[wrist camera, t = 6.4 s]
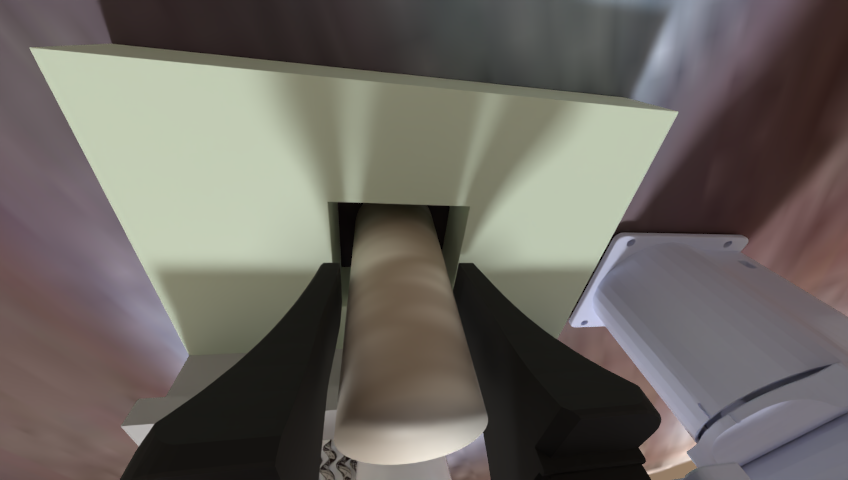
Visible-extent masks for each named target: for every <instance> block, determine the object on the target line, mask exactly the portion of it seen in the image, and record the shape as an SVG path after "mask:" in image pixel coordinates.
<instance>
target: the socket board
mask: <svg viewBox="0 0 848 480" xmlns="http://www.w3.org/2000/svg"><path fill="white" fill-rule="evenodd" d="M30 50H31V52H32V54H33V56H34V58H35V60H36V62H37V64H38V65H39V67H40V69H41V71H42V73H43V75H44V77H45V79H46V81H47V83H48V85H49V87H50V88H51V90H52V92H53V94H54V96H55V98H56V100H57V102H58V104H59V106H60V108H61V110H62V112H63V113H64V115H65V117H66V119H67V121H68V123H69V125H70V127H71V129H72V131H73V133H74V135H75V137H76V138H77V140H78V142H79V144H80V146H81V148H82V150H83V152H84V154H85V156H86V158H87V160H88V162H89V163H90V165H91V167H92V169H93V171H94V173H95V175H96V177H97V179H98V181H99V183H100V185H101V187H102V188H103V190H104V192H105V194H106V196H107V198H108V200H109V202H110V204H111V206H112V208H113V210H114V212H115V213H116V215H117V217H118V219H119V221H120V223H121V225H122V227H123V229H124V231H125V233H126V235H127V237H128V238H129V240H130V242H131V244H132V246H133V248H134V250H135V252H136V254H137V256H138V258H139V260H140V262H141V263H142V265H143V267H144V269H145V271H146V273H147V275H148V277H149V279H150V281H151V283H152V285H153V287H154V288H155V290H156V292H157V294H158V296H159V298H160V300H161V302H162V304H163V306H164V308H165V310H166V312H167V313H168V315H169V317H170V319H171V321H172V323H173V325H174V327H175V329H176V331H177V333H178V335H179V337H180V338H181V340H182V342H183V344H184V346H185V348H186V350H187V352H188V354H189V357H188V359H187V361H186V362H185V364H184V366H183V368H182V369H181V371H180V373H179V374H178V376H177V378H176V380H175V381H174V383H173V385H172V387H171V388H170V390H169V392H168V394H167V395H166V397H161V398H146V399H138V400H137V402H136V403H135V405H134V407H133V408H132V410H131V411H130V413H129V414H128V416H127V417H126V419H125V420H124V422H123V424H122V425H121V427H122V428H123V429H124V430H125V432H126V433H127V434H128V435H129V436H130V437H131V438H132V439H133V440H134V441H135V442H136V444H137V445H138V446H140V444H141V442H142V441H143V440H144V438H145V437H146V435H147V434H148V433H149V431H150V430H151V428H152V427H153V425H154V424H155V423H156V422H157V421H159V420H160V419H162V418H164V417H165V416H166V415H168V414H169V413H171V412H172V411H174V410H175V409H177V408H178V407H179V406H181V405H182V404H184V403H185V402H187V401H188V400H190V399H191V398H192V397H194V396H195V395H197V394H198V393H199V392H201V391H202V390H203V389H205V388H206V387H207V386H208V385H210V384H211V383H212V382H213V381H215V380H216V379H217V378H219V377H220V376H221V375H222V374H224V373H225V372H226V371H227V370H229V369H230V368H231V367H232V366H233V365H235V364H236V363H237V362H238V361H239V360H240V359H242V358H243V357H244V356H245V355H246V354H247V353H248V352H249V351H250V350H251V349H253V348H254V347H255V346H256V345H257V344H258V343H259V342H260V341H261V340H262V339H263V338H264V337H265V336H266V335H267V334H268V333H269V332H270V331H271V330H272V329H273V328H274V327H275V326H276V324H277V323H278V322H279V321H280V320H281V319H282V318H283V317H284V315H285V314H286V313H287V312H288V311H289V309H290V308H291V307H292V306H293V305H294V303H295V302H296V301H297V300H298V298H299V297H300V295H301V294H302V293H303V291H304V290H305V289H306V287H307V286H308V284H309V283H310V282H311V280H312V279H313V277H314V276H315V274H316V272H317V271H318V269H319V267H320V265H321V264H323V263H340V272H341V288H342V311H341V322H340V329H339V334H338V339H337V344H336V349H335V354H334V359H333V364H332V369H331V374H330V379H329V385H328V391H327V401H326V410H325V420H324V430H323V440H331V439H334V432H335V422H336V412H337V402H338V392H339V382H340V372H341V362H342V352H343V342H344V332H345V322H346V312H347V302H348V292H349V282H350V272H351V267H341V250H340V232H339V215H338V202H353V203H383V204H412V205H442V206H450V208H449V214H448V220H447V226H446V232H445V237H444V243H443V249H442V255H443V258H444V262H445V265H446V269H447V273H448V276H449V280H450V283H451V287H452V290H453V288H454V283H455V278H456V274H457V269H458V264H459V263H474V264H475V265H476V266H477V268H478V269H479V270H480V271H481V272H482V273H483V274H484V275H485V276H486V277H487V278H488V279H489V280H490V281H491V283H492V284H493V285H494V286H495V287H496V288H497V289H498V290H499V291H500V292H501V293H502V294H503V295H504V296H505V297H506V298H507V299H508V300H509V301H510V302H511V303H512V304H514V305H515V306H516V307H517V308H518V309H519V310H520V311H521V312H522V313H524V314H525V315H526V316H527V317H528V318H529V319H531V320H532V321H533V322H534V323H536V324H537V325H538V326H540V327H541V328H542V329H543V330H545V331H546V332H547V333H549V334H550V335H551V336H553V337H554V338H556V339H557V338H558V337H559V335H560V333H561V331H562V329H563V327H564V325H565V324H566V322H567V320H568V318H569V316H570V314H571V312H572V310H573V309H574V307H575V305H576V303H577V301H578V299H579V297H580V296H581V294H582V292H583V290H584V288H585V286H586V284H587V282H588V281H589V279H590V277H591V275H592V273H593V271H594V269H595V267H596V266H597V264H598V262H599V260H600V258H601V256H602V254H603V253H604V251H605V249H606V247H607V245H608V243H609V241H610V239H611V238H612V236H613V234H614V232H615V230H616V228H617V226H618V224H619V223H620V221H621V219H622V217H623V215H624V213H625V211H626V210H627V208H628V206H629V204H630V202H631V200H632V198H633V196H634V195H635V193H636V191H637V189H638V187H639V185H640V183H641V182H642V180H643V178H644V176H645V174H646V172H647V170H648V168H649V167H650V165H651V163H652V161H653V159H654V157H655V155H656V153H657V152H658V150H659V148H660V146H661V144H662V142H663V140H664V139H665V137H666V135H667V133H668V131H669V129H670V127H671V125H672V124H673V122H674V120H675V118H676V116H677V114H678V112H677V111H674V110H670V109H666V108H662V107H659V106H655V105H651V104H647V103H644V102H640V101H636V100H632V99H628V98H625V97H616V96H606V95H596V94H587V93H577V92H568V91H558V90H549V89H539V88H530V87H520V86H511V85H501V84H491V83H482V82H472V81H463V80H453V79H444V78H434V77H425V76H415V75H406V74H396V73H386V72H377V71H367V70H358V69H348V68H339V67H329V66H320V65H310V64H301V63H291V62H281V61H272V60H262V59H253V58H243V57H234V56H224V55H215V54H205V53H196V52H186V51H176V50H167V49H157V48H148V47H138V46H129V45H119V44H93V45H72V46H51V47H30Z"/></svg>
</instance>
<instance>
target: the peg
mask: <svg viewBox="0 0 848 480" xmlns="http://www.w3.org/2000/svg"><path fill="white" fill-rule="evenodd" d="M487 424H488V416H487V412H486V408H485V405H484V401H483V398H482V394H481V391H480V387H479V383H478V380H477V376H476V373H475V369H474V366H473V362H472V358H471V355H470V351H469V348H468V344H467V340H466V337H465V333H464V330H463V326H462V323H461V319H460V315H459V312H458V308H457V305H456V301H455V298H454V294H453V290H452V287H451V283H450V280H449V276H448V273H447V269H446V265H445V262H444V258H443V255H442V251H441V247H440V244H439V240H438V237H437V233H436V230H435V226H434V222H433V219H432V215H431V212H430V210H429V208H428V206H427V205H412V204H383V203H363V205H362V206H361V207H360V209H359V211H358V213H357V216H356V222H355V232H354V242H353V252H352V262H351V272H350V282H349V292H348V302H347V312H346V322H345V332H344V342H343V352H342V362H341V372H340V382H339V392H338V402H337V412H336V422H335V432H334V444H335V446H336V448H337V449H338V450H339V451H340V452H341V453H342V454H343V455H345V456H347V457H349V458H351V459H353V460H357V461H360V462H364V463H370V464H380V465H398V464H409V463H417V462H422V461H427V460H431V459H435V458H438V457H442V456H445V455H448V454H450V453H453V452H455V451H457V450H459V449H462V448H463V447H465V446H467V445H469V444H470V443H472V442H473V441H475V440H476V439H477V438H478V437H479V436H480V435H481V434H482V433H483V432H484V430H485V429H486V426H487Z"/></svg>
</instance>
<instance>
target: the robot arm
mask: <svg viewBox="0 0 848 480" xmlns="http://www.w3.org/2000/svg"><path fill="white" fill-rule="evenodd" d="M747 243H748V238H747V237H745V236H743V235H723V234H675V233H626V232H623V233H619V234H617V235H616V236H614V238H613V239H612V241H611V243H610V245H609V247H608V248H607V250H606V252H605V254H604V256H603V258H602V260H601V261H600V263H599V265H598V267H597V269H596V271H595V273H594V274H593V276H592V278H591V280H590V282H589V284H588V286H587V287H586V289H585V291H584V293H583V295H582V297H581V299H580V300H579V302H578V304H577V306H576V308H575V310H574V312H573V313H572V315H571V317H570V319H569V323H570V325H571V326H572V327H596V326H606V328H607V329H608V330H609V331H610V333H611V334H612V335H613V337H614V338H615V339H616V340H617V342H618V343H619V344H620V346H621V347H622V348H623V349H624V351H625V352H626V353H627V355H628V356H629V357H630V358H631V360H632V361H633V362H634V364H635V365H636V366H637V367H638V369H639V370H640V371H641V373H642V374H643V375H644V376H645V378H646V379H647V380H648V381H649V383H650V384H651V385H652V387H653V388H654V389H655V390H656V392H657V393H658V394H659V396H660V397H661V398H662V399H663V401H664V402H665V403H666V405H667V406H668V407H669V408H670V410H671V411H672V412H673V414H674V415H675V416H676V417H677V419H678V420H679V421H680V423H681V424H682V425H683V426H684V428H685V429H686V430H687V432H688V433H689V434H690V435H691V437H692V438H693V439H694V441H695V442H696V443H697V444H696V445H695V446H694V447H693V448H692V449H690V450H689V451H687V454H688V455H689V457H690V458H691V460H692V461H693V462H694V463H695V465H696V466H697V468H696V469H694V470H692V471H691V472H689V473H688V474H687V475H686V476H685V478H682V479H674V480H848V317H847V316H845V315H844V314H842V313H841V312H839V311H837V310H836V309H834V308H832V307H831V306H829V305H827V304H826V303H824V302H822V301H821V300H819V299H817V298H816V297H814V296H812V295H811V294H809V293H808V292H806V291H804V290H803V289H801V288H799V287H798V286H796V285H794V284H793V283H791V282H789V281H788V280H786V279H784V278H783V277H781V276H779V275H778V274H776V273H774V272H773V271H771V270H769V269H768V268H766V267H765V266H763V265H761V264H760V263H758V262H756V261H755V260H753V259H751V258H750V257H748V256H746V255H745V254H743V253H741V251H742V249H743V248H744V247H745V246H746V245H747ZM453 294H454V298H455V301H456V305H457V308H458V312H459V315H460V319H461V323H462V326H463V330H464V333H465V337H466V340H467V344H468V348H469V351H470V355H471V358H472V362H473V366H474V369H475V373H476V376H477V380H478V383H479V387H480V391H481V394H482V398H483V401H484V405H485V408H486V412H487V416H488V424H487V426H486V429H485V430H484V432H483V433H484V439H485V445H486V451H487V457H488V463H489V470H490V477H491V480H651V479H650V477H649V475H648V474H647V472H646V471H645V469H644V467H643V466H642V464H644V463H645V462H646V460H645V457H644V456H643V454H642V452H641V451H640V449H639V448H638V447H639V446H640V445H641V444H642V443H644V442H645V441H646V440H647V439H648V438H649V437H650V436H651V435H652V434H653V433H654V432H655V431H656V430H657V429H658V428H659V425H660V423H661V417H660V414H659V413H658V411H657V410H656V409H655V407H654V406H653V405H652V403H651V402H650V401H649V399H648V398H647V397H646V395H645V394H644V393H643V391H642V390H641V389H640V387H639V386H638V385H636V384H634V383H632V382H630V381H628V380H626V379H624V378H622V377H620V376H618V375H616V374H614V373H612V372H610V371H608V370H606V369H604V368H602V367H601V366H599V365H597V364H595V363H594V362H592V361H590V360H588V359H587V358H585V357H583V356H582V355H580V354H579V353H577V352H575V351H574V350H572V349H571V348H569V347H568V346H566V345H565V344H563V343H562V342H560V341H559V340H557V339H556V338H554V337H553V336H551V335H550V334H549V333H547V332H546V331H545V330H543V329H542V328H541V327H540V326H538V325H537V324H536V323H534V322H533V321H532V320H531V319H529V318H528V317H527V316H526V315H525V314H524V313H522V312H521V311H520V310H519V309H518V308H517V307H516V306H515V305H514V304H512V303H511V302H510V301H509V300H508V299H507V298H506V297H505V296H504V295H503V294H502V293H501V292H500V291H499V290H498V289H497V288H496V287H495V286H494V285H493V284H492V283H491V281H490V280H489V279H488V278H487V277H486V276H485V275H484V274H483V273H482V272H481V271H480V270H479V269H478V268H477V266H476V265H475V264H474V263H459V264H458V269H457V274H456V278H455V283H454V288H453ZM341 311H342V288H341V272H340V263H323V264H321V265H320V267H319V269H318V271H317V272H316V274H315V276H314V277H313V279H312V280H311V282H310V283H309V284H308V286H307V287H306V289H305V290H304V291H303V293H302V294H301V295H300V297H299V298H298V300H297V301H296V302H295V303H294V305H293V306H292V307H291V308H290V309H289V311H288V312H287V313H286V314H285V315H284V317H283V318H282V319H281V320H280V321H279V322H278V323H277V324H276V326H275V327H274V328H273V329H272V330H271V331H270V332H269V333H268V334H267V335H266V336H265V337H264V338H263V339H262V340H261V341H260V342H259V343H258V344H257V345H256V346H255V347H254V348H253V349H251V350H250V351H249V352H248V353H247V354H246V355H245V356H244V357H243V358H242V359H240V360H239V361H238V362H237V363H236V364H235V365H233V366H232V367H231V368H230V369H229V370H227V371H226V372H225V373H224V374H222V375H221V376H220V377H219V378H217V379H216V380H215V381H213V382H212V383H211V384H210V385H208V386H207V387H206V388H205V389H203V390H202V391H201V392H199V393H198V394H197V395H195V396H194V397H192V398H191V399H190V400H188V401H187V402H185V403H184V404H182V405H181V406H179V407H178V408H177V409H175V410H174V411H172V412H171V413H169V414H168V415H166V416H165V417H164V418H162V419H160V420H159V421H157V422H156V423H155V424H154V425H153V427H152V428H151V430H150V431H149V433H148V434H147V435H146V437H145V438H144V440H143V441H142V442H141V444H140V446H139V447H138V449H137V450H136V452H135V454H134V455H133V457H132V459H131V461H130V462H129V464H128V466H127V468H126V469H125V471H124V473H123V475H122V477H121V478H120V480H319V473H320V462H321V451H322V440H323V430H324V420H325V410H326V401H327V391H328V385H329V379H330V374H331V369H332V364H333V359H334V354H335V349H336V344H337V339H338V334H339V329H340V322H341Z"/></svg>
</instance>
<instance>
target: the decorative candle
mask: <svg viewBox="0 0 848 480" xmlns="http://www.w3.org/2000/svg"><path fill="white" fill-rule="evenodd" d="M356 469H357V460H353V459H351V458H349V457H347V456H345V455H343V454H342V453H341V452H340V451H339V450H338V449H337V448H336V446H335V444H334V439H331V440H322V451H321V462H320V473H319V480H355V478H356Z"/></svg>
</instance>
